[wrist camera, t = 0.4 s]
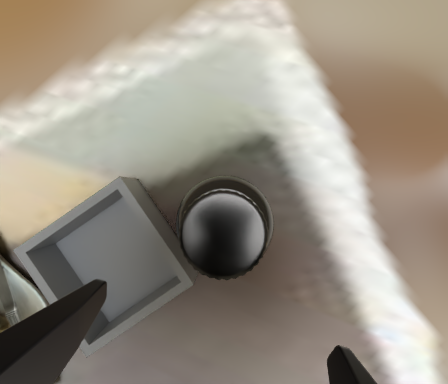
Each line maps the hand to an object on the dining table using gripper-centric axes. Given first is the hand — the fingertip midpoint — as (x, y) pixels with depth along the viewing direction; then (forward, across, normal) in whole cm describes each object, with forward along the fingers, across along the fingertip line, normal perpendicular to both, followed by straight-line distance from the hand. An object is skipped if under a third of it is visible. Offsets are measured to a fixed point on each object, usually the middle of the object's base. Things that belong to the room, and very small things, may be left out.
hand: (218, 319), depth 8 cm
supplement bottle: (+15, 0, +4) cm, 15 cm away
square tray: (+12, +10, +10) cm, 18 cm away
